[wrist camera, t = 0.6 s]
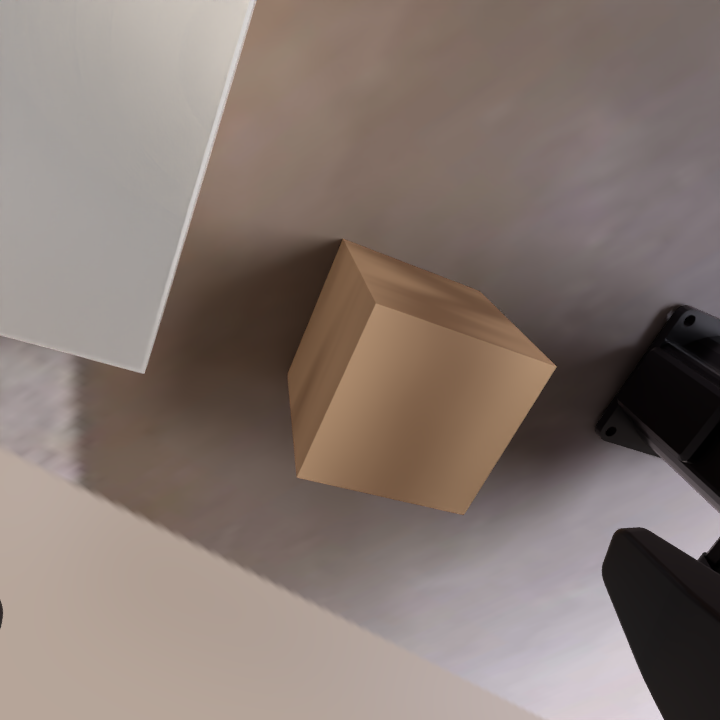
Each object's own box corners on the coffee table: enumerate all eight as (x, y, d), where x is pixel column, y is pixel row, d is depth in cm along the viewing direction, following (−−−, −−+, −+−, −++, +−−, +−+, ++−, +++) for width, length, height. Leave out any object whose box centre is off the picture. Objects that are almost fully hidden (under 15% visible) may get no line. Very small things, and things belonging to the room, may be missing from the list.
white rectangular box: (285, -83, 14) (295, -134, 11) (165, 318, 19) (143, 373, 15) (-129, -322, 11) (-301, -499, 8) (-154, 221, 16) (-270, 263, 12)
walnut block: (478, 290, 20) (556, 366, 15) (415, 410, 22) (463, 515, 17) (342, 238, 18) (376, 303, 13) (287, 373, 20) (296, 477, 15)
